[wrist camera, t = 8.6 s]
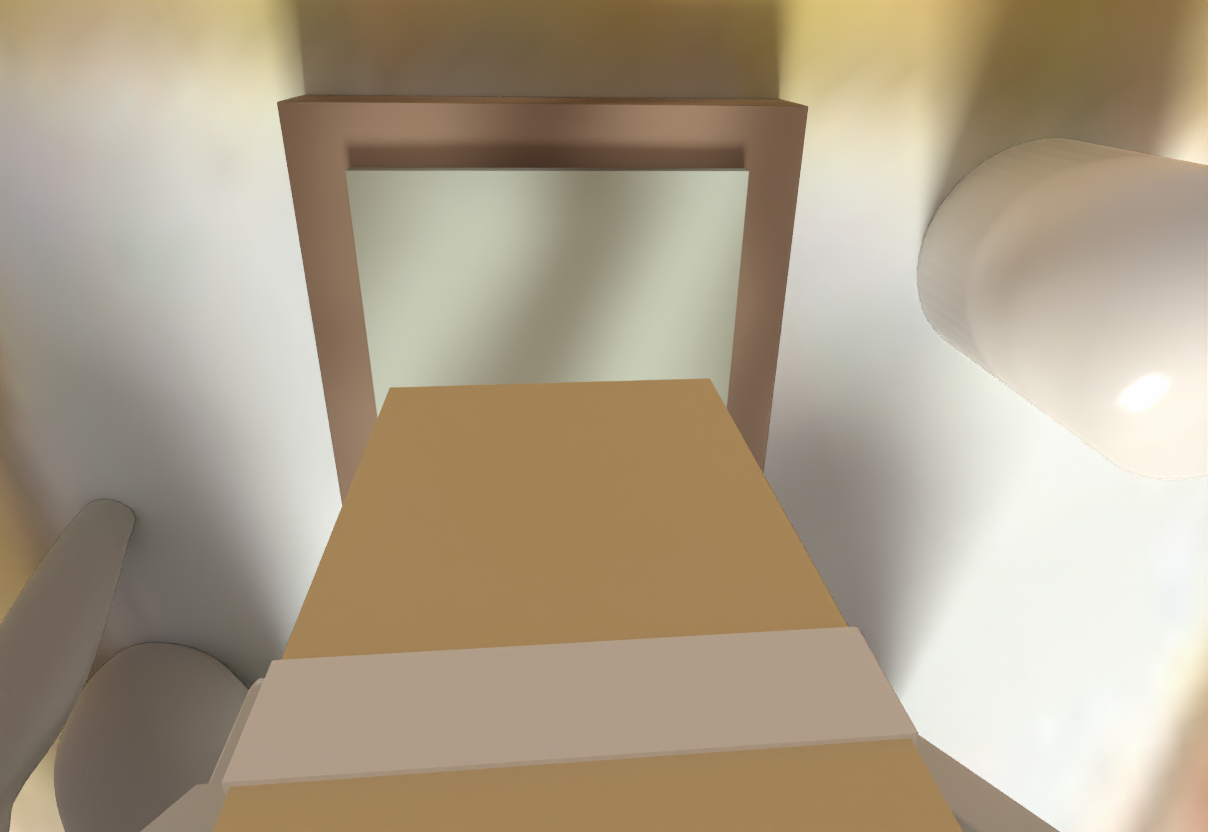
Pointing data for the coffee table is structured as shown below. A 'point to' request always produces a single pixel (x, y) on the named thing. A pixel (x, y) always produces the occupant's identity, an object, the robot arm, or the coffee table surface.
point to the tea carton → (572, 638)
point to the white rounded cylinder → (1083, 294)
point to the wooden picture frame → (542, 244)
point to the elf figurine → (103, 692)
